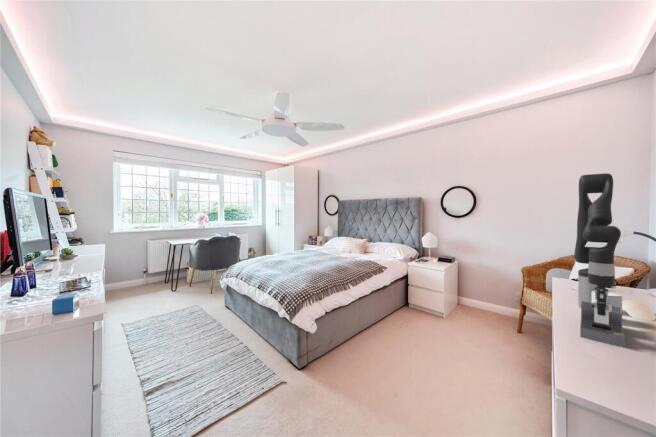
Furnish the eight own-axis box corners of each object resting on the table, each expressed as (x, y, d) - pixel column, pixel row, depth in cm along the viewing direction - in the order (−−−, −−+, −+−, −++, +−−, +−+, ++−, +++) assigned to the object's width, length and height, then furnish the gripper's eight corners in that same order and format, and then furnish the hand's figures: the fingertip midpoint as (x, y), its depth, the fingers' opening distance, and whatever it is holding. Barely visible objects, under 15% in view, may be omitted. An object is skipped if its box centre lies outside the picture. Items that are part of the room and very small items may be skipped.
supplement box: (623, 322, 115) (623, 296, 115) (604, 321, 116) (603, 295, 116) (608, 316, 122) (608, 291, 122) (590, 315, 124) (590, 290, 123)
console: (581, 319, 120) (581, 301, 119) (620, 327, 111) (619, 307, 111) (580, 336, 103) (580, 315, 103) (625, 347, 94) (624, 324, 94)
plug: (594, 319, 106) (594, 301, 105) (611, 323, 102) (611, 304, 102) (594, 321, 104) (594, 303, 103) (611, 325, 100) (611, 306, 100)
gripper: (588, 269, 110) (588, 307, 111) (588, 274, 101) (588, 316, 101) (613, 271, 105) (613, 311, 105) (616, 277, 95) (616, 321, 95)
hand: (601, 313), depth 103 cm, fingers closed on plug, 3 cm apart
